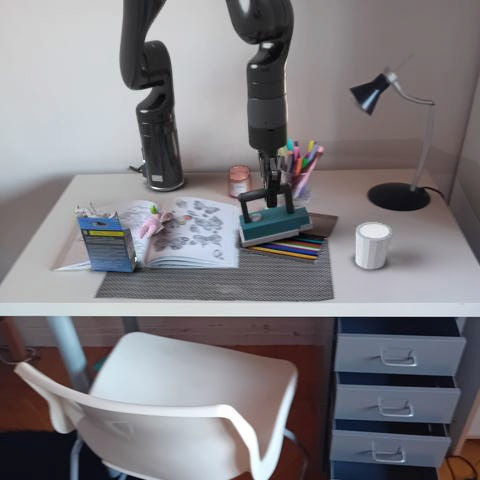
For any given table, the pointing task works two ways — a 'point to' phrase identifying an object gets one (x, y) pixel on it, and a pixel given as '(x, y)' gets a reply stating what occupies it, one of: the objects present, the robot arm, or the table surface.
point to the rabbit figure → (151, 224)
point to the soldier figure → (94, 213)
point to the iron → (271, 218)
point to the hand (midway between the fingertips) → (270, 203)
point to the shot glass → (372, 244)
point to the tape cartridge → (108, 244)
